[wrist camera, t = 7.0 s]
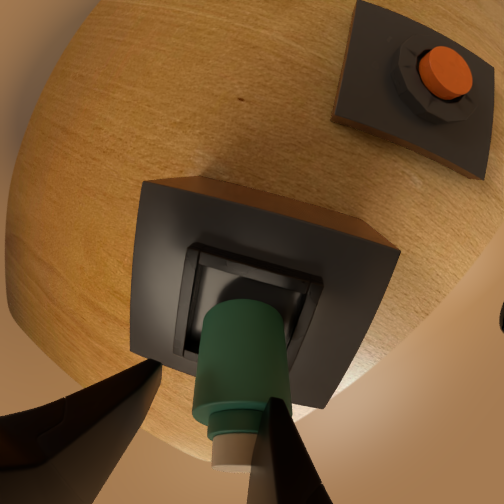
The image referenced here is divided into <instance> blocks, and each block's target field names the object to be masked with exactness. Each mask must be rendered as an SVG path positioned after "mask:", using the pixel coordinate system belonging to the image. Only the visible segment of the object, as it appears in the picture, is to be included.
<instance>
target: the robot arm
mask: <svg viewBox="0 0 504 504" xmlns="http://www.w3.org/2000/svg"><path fill="white" fill-rule="evenodd" d="M502 331H503V332H504V324H503V326H502ZM161 378H162V363H161V362H159V361H157V360H154V359H152V358H150V359H147V360H145V361H143V362H141V363H139V364H137V365H135V366H132V367H130V368H128V369H126V370H124V371H122V372H120V373H118V374H115V375H113V376H111V377H109V378H107V379H105V380H102V381H100V382H98V383H96V384H93V385H91V386H89V387H87V388H84V389H82V390H80V391H78V392H75V393H73V394H71V395H69V396H66V398H64V397H63V398H61V399H59V400H57V401H54V402H51V403H49V404H46V405H43V406H40V407H37V408H34V409H30V410H26V411H22V412H18V413H14V414H9V415H5V416H0V504H92V503H93V501H94V500H95V498H96V497H97V495H98V493H99V492H100V490H101V488H102V487H103V485H104V484H105V482H106V481H107V479H108V477H109V475H110V474H111V473H112V471H113V469H114V468H115V466H116V464H117V463H118V461H119V460H120V458H121V456H122V455H123V453H124V452H125V450H126V449H127V447H128V445H129V444H130V442H131V441H132V439H133V437H134V436H135V434H136V433H137V431H138V429H139V428H140V426H141V424H142V423H143V421H144V419H145V417H146V415H147V412H148V410H149V408H150V406H151V404H152V401H153V399H154V397H155V395H156V393H157V390H158V388H159V386H160V383H161ZM321 483H322V482H321V479H320V477H319V475H318V473H317V471H316V469H315V467H314V465H313V463H312V460H311V458H310V456H309V454H308V452H307V450H306V448H305V446H304V443H303V441H302V439H301V437H300V435H299V433H298V430H297V428H296V426H295V424H294V422H293V419H292V417H291V415H290V413H289V410H288V408H287V406H286V404H285V402H284V400H283V399H281V398H277V397H270V398H269V400H268V403H267V405H266V407H265V409H264V411H263V414H262V417H261V422H260V426H259V430H258V434H257V438H256V442H255V446H254V450H253V455H252V461H251V471H250V480H249V488H248V497H247V504H333V503H332V501H331V499H330V497H329V495H328V494H327V492H326V490H325V487H324V486H323V484H321Z"/></svg>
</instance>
